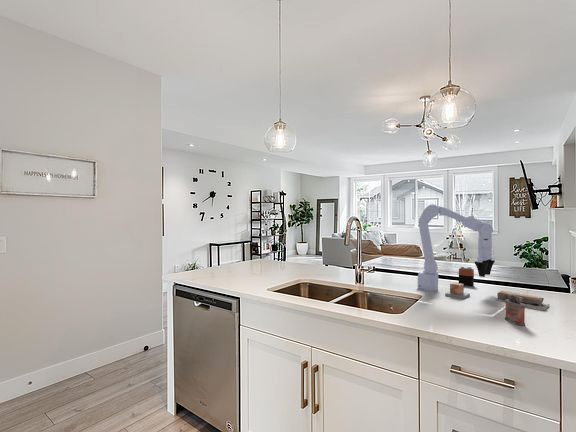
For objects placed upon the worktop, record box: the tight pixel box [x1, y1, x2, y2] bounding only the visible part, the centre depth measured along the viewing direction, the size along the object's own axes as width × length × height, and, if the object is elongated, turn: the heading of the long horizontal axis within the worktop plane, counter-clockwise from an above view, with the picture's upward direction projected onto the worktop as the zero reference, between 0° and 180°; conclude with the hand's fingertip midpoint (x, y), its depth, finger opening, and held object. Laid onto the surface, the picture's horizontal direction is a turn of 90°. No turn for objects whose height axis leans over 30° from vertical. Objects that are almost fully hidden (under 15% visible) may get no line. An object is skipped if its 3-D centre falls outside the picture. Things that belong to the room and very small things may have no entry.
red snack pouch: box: [504, 294, 526, 327], centre depth 122 cm, size 8×3×10 cm, turn 5°
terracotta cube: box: [449, 282, 465, 295], centre depth 157 cm, size 4×4×4 cm
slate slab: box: [444, 291, 471, 300], centre depth 157 cm, size 8×8×2 cm
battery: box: [458, 266, 475, 288], centre depth 183 cm, size 4×7×10 cm, turn 50°
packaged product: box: [495, 290, 550, 311], centre depth 146 cm, size 18×5×10 cm
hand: (484, 275), depth 162 cm, fingers open, 7 cm apart
